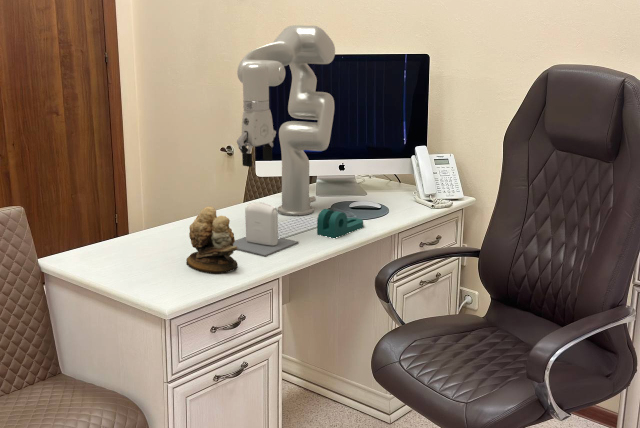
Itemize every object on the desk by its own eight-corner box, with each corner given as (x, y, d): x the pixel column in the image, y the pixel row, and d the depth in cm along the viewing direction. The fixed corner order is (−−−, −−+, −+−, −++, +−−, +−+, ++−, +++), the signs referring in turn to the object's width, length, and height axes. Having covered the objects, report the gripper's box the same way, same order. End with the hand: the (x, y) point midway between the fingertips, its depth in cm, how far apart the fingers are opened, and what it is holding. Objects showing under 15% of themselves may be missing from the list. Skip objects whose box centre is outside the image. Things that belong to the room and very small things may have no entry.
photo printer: (243, 242, 222) (242, 202, 219) (251, 238, 225) (250, 199, 222) (272, 247, 217) (272, 206, 214) (280, 243, 221) (280, 203, 217)
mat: (257, 234, 232) (257, 232, 232) (298, 243, 223) (298, 241, 223) (223, 246, 219) (223, 244, 219) (265, 257, 210) (265, 255, 210)
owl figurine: (251, 268, 202) (250, 208, 197) (218, 279, 193) (216, 217, 189) (208, 253, 213) (206, 196, 209) (175, 263, 205) (172, 204, 200)
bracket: (334, 239, 228) (334, 214, 226) (317, 235, 232) (317, 211, 230) (366, 226, 242) (367, 203, 240) (350, 223, 246) (350, 200, 244)
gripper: (247, 111, 208) (249, 170, 213) (284, 103, 221) (284, 159, 226) (227, 108, 212) (229, 167, 217) (264, 101, 225) (265, 156, 230)
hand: (257, 162), depth 222 cm, fingers open, 9 cm apart
